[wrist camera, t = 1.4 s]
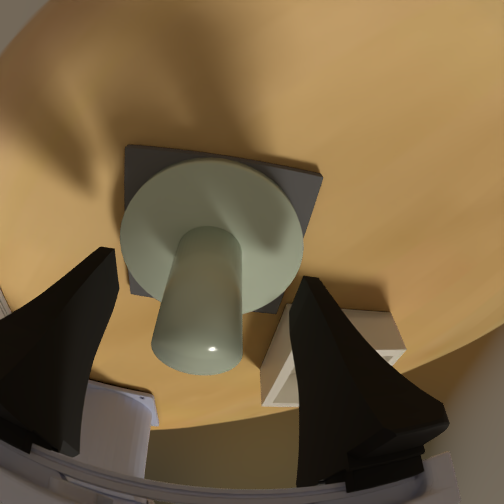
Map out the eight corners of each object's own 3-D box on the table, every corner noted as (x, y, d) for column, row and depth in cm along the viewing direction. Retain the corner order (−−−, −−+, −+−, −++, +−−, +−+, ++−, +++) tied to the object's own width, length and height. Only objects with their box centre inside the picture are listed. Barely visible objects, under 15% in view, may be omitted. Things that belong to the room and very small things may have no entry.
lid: (130, 293, 15) (99, 386, 10) (125, 147, 10) (46, 221, 6) (276, 313, 16) (286, 410, 11) (323, 177, 12) (375, 268, 7)
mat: (132, 288, 15) (130, 293, 15) (128, 144, 11) (125, 147, 10) (275, 308, 16) (276, 314, 16) (321, 173, 12) (323, 177, 11)
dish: (259, 369, 20) (261, 406, 18) (286, 303, 16) (293, 347, 14) (346, 372, 21) (354, 404, 19) (390, 312, 17) (406, 349, 15)
